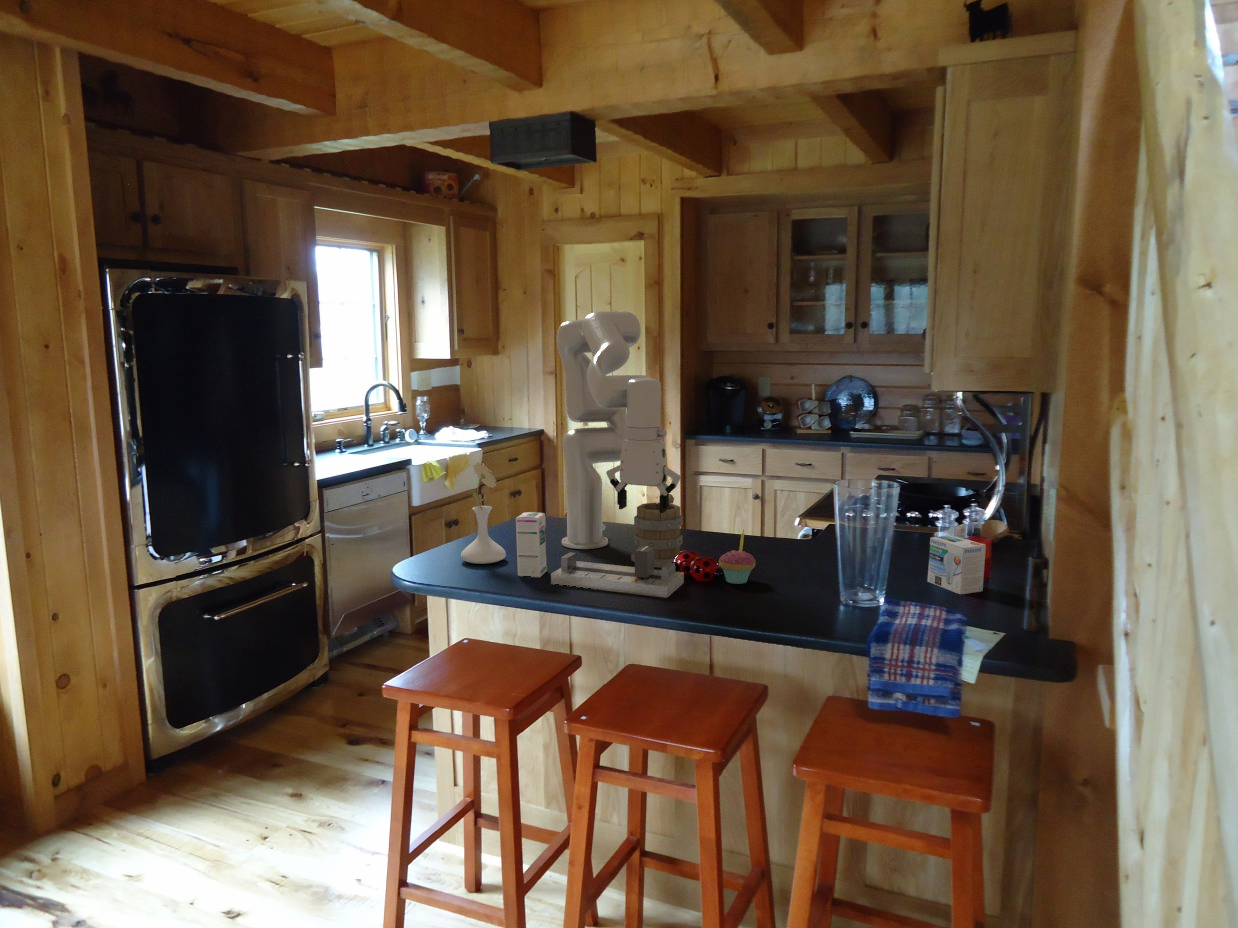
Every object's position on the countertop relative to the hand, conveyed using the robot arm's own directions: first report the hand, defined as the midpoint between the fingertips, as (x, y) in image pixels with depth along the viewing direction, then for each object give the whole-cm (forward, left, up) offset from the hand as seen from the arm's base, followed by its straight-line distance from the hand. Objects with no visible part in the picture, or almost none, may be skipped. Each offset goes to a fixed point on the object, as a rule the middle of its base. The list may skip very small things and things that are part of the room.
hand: (642, 510), depth 196 cm
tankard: (-26, -4, -18) cm, 32 cm away
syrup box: (0, -28, -18) cm, 33 cm away
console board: (0, -6, -18) cm, 19 cm away
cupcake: (-12, +19, -18) cm, 29 cm away
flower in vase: (-6, -45, -18) cm, 49 cm away
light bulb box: (-26, +66, -18) cm, 73 cm away
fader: (0, +1, -15) cm, 15 cm away
